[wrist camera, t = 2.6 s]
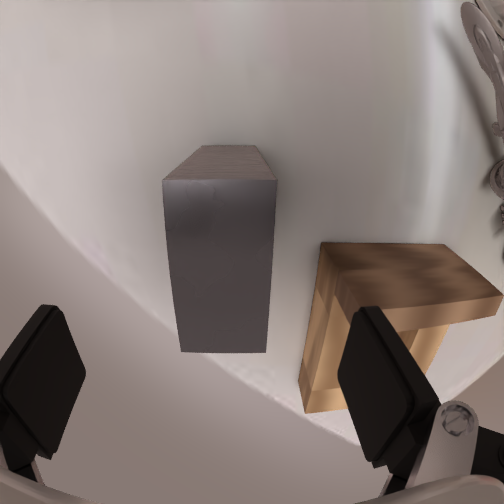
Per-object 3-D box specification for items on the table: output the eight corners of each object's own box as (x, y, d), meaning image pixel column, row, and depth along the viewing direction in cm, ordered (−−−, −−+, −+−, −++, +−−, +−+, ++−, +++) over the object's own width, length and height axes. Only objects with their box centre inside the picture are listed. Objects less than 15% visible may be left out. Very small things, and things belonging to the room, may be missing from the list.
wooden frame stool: (444, 244, 26) (504, 295, 17) (398, 368, 34) (427, 425, 25) (321, 242, 26) (362, 310, 17) (298, 380, 33) (312, 451, 24)
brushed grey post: (254, 145, 22) (276, 179, 10) (252, 241, 25) (265, 352, 14) (202, 145, 22) (161, 180, 10) (204, 241, 25) (181, 352, 13)
